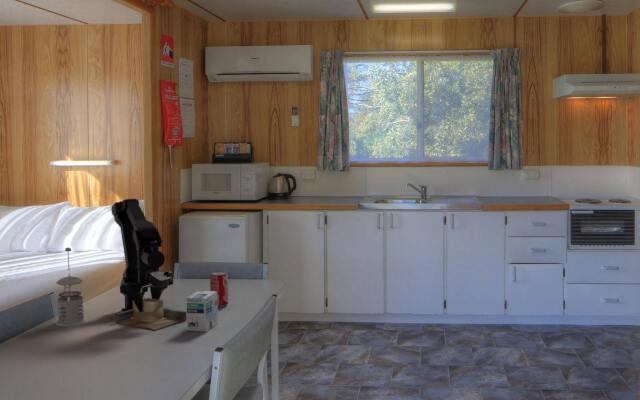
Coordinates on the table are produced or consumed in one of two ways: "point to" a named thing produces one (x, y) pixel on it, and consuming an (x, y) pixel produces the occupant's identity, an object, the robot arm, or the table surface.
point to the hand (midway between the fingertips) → (148, 309)
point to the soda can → (220, 287)
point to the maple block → (149, 310)
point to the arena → (169, 319)
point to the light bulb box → (202, 311)
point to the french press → (70, 302)
